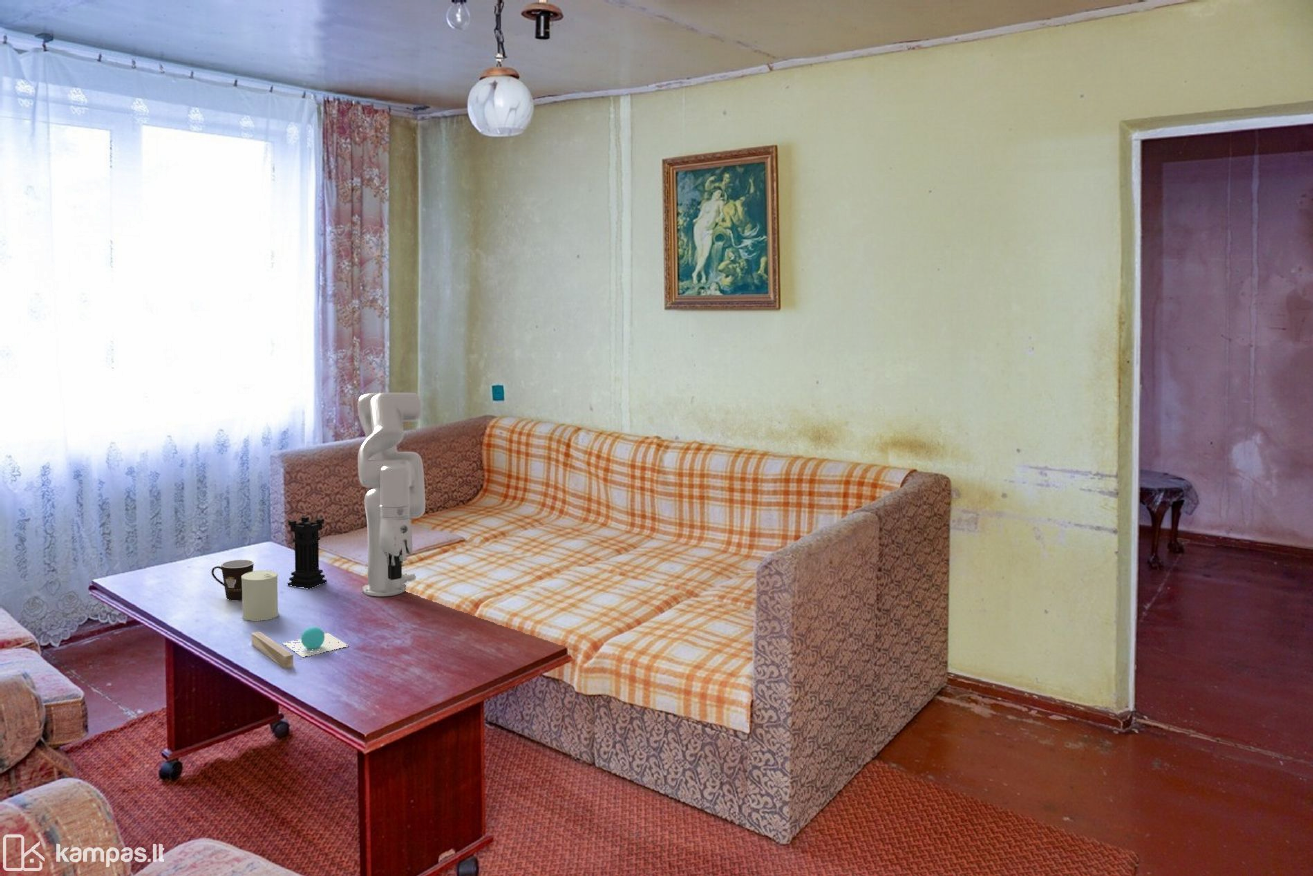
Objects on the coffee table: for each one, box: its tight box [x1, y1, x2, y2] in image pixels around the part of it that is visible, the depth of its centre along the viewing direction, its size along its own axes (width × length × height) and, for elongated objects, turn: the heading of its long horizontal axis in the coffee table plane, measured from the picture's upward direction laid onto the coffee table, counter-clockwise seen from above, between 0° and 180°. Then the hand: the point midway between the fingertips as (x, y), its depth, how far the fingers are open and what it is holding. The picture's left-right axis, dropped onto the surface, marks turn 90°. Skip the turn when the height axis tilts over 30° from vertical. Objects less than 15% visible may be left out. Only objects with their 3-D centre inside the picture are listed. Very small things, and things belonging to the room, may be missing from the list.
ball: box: [300, 626, 325, 649], centre depth 232 cm, size 6×6×6 cm
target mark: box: [281, 632, 349, 658], centre depth 235 cm, size 12×12×1 cm
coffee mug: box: [211, 559, 255, 601], centre depth 269 cm, size 12×9×10 cm
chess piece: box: [286, 516, 328, 590], centre depth 282 cm, size 8×8×20 cm
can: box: [241, 570, 279, 622], centre depth 253 cm, size 9×9×12 cm
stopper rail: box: [251, 631, 294, 670], centre depth 227 cm, size 2×20×3 cm, turn 44°
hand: (394, 578), depth 248 cm, fingers closed
